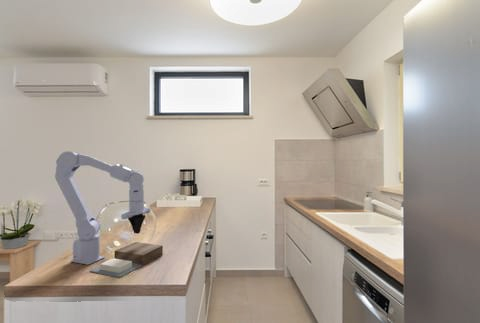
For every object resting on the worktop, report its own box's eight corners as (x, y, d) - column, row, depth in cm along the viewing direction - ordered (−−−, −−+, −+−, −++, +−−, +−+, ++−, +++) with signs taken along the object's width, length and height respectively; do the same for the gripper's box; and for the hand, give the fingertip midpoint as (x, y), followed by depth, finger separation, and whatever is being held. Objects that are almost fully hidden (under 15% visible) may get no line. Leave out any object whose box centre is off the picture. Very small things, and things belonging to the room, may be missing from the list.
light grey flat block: (113, 258, 101) (113, 263, 101) (100, 264, 96) (100, 269, 96) (132, 261, 98) (132, 266, 98) (119, 267, 92) (119, 273, 92)
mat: (90, 271, 95) (90, 270, 95) (114, 261, 105) (114, 260, 105) (120, 277, 90) (120, 276, 90) (142, 265, 100) (142, 264, 100)
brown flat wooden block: (114, 260, 105) (114, 250, 105) (136, 251, 116) (136, 242, 116) (142, 265, 100) (142, 255, 100) (162, 255, 111) (162, 245, 111)
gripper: (130, 203, 103) (131, 238, 103) (155, 198, 116) (156, 229, 116) (117, 202, 105) (117, 236, 105) (143, 198, 119) (143, 228, 119)
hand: (136, 232), depth 111 cm, fingers closed
